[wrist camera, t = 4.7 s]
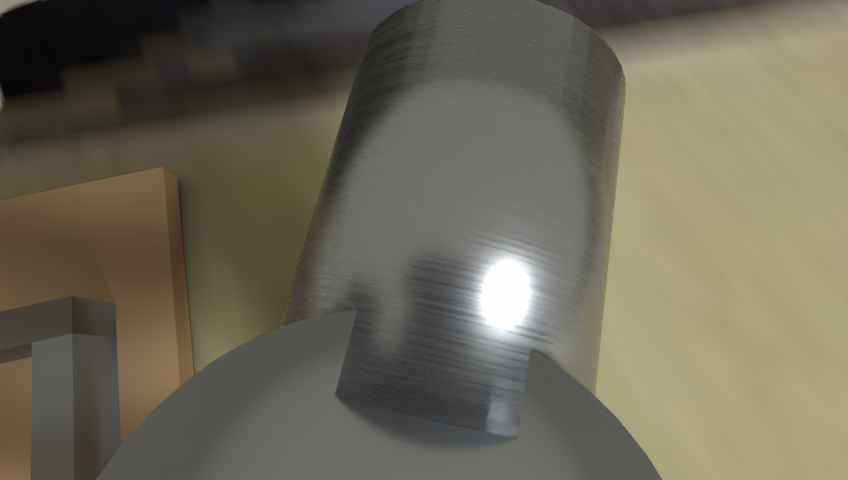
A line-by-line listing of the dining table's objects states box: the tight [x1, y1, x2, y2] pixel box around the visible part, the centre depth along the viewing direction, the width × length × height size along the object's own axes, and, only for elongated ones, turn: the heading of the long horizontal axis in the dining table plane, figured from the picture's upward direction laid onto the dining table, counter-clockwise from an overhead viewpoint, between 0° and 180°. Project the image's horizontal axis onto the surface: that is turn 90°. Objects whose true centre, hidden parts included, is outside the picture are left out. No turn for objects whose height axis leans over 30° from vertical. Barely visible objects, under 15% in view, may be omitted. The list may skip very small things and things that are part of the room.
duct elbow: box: [96, 0, 662, 480], centre depth 10 cm, size 10×6×12 cm, turn 168°
